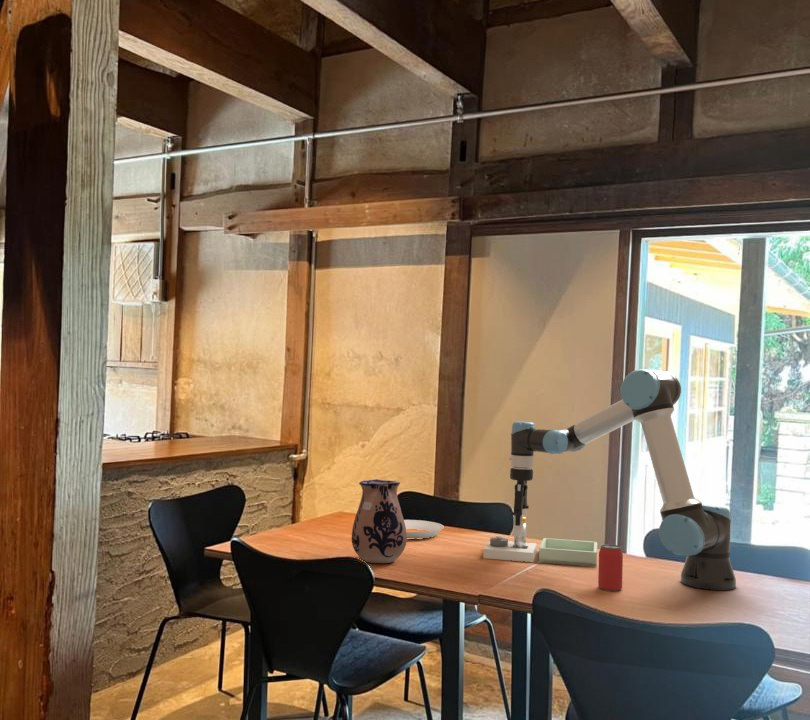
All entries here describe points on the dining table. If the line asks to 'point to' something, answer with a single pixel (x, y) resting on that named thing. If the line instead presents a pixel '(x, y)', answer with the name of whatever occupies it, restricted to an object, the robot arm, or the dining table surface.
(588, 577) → the dining table surface
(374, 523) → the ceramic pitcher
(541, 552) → the tray
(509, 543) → the block
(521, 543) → the capped clear tube
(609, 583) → the beer can
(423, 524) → the bowl
